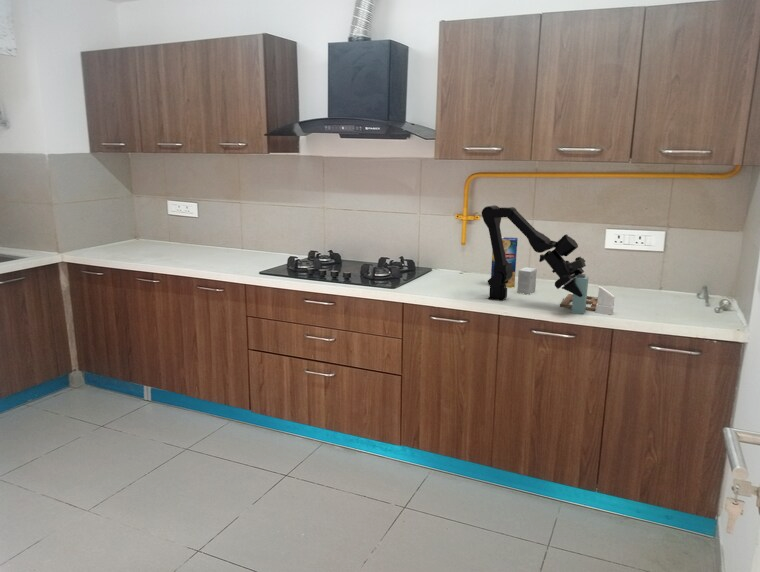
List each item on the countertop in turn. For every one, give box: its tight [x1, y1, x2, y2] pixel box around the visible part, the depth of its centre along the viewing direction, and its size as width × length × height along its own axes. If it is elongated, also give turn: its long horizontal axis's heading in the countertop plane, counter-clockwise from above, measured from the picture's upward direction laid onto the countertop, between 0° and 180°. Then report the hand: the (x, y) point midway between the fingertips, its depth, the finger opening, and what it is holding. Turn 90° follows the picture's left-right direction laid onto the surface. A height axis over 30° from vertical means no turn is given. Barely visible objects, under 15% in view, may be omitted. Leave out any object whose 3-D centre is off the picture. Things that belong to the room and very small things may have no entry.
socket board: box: [559, 293, 598, 312], centre depth 237 cm, size 14×19×2 cm
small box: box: [517, 266, 538, 295], centre depth 255 cm, size 8×6×10 cm
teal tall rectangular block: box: [570, 273, 590, 315], centre depth 223 cm, size 4×4×15 cm
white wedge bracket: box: [594, 285, 616, 316], centre depth 224 cm, size 4×10×9 cm, turn 56°
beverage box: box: [490, 236, 519, 288], centre depth 266 cm, size 7×11×22 cm, turn 76°
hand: (583, 295), depth 223 cm, fingers closed on teal tall rectangular block, 5 cm apart
